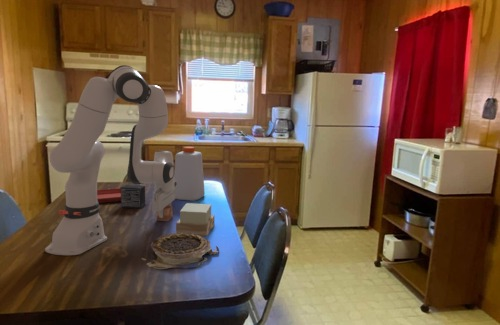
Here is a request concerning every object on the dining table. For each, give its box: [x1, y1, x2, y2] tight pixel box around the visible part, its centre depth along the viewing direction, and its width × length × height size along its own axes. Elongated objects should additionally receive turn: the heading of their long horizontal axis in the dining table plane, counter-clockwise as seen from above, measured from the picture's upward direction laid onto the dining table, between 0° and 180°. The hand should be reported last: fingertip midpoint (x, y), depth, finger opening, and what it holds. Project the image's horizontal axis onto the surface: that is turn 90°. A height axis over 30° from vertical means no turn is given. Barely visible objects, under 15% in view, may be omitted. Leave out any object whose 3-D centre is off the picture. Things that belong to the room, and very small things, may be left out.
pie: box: [141, 232, 220, 270], centre depth 133 cm, size 28×27×5 cm
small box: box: [120, 184, 146, 209], centre depth 183 cm, size 11×6×10 cm, turn 84°
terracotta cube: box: [155, 205, 173, 222], centre depth 166 cm, size 6×6×6 cm
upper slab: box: [179, 202, 212, 224], centre depth 155 cm, size 11×11×5 cm
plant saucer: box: [97, 188, 121, 204], centre depth 196 cm, size 18×18×3 cm
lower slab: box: [175, 214, 215, 237], centre depth 155 cm, size 13×13×5 cm
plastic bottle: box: [174, 146, 205, 202], centre depth 199 cm, size 15×15×28 cm
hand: (164, 214), depth 167 cm, fingers closed on terracotta cube, 5 cm apart
